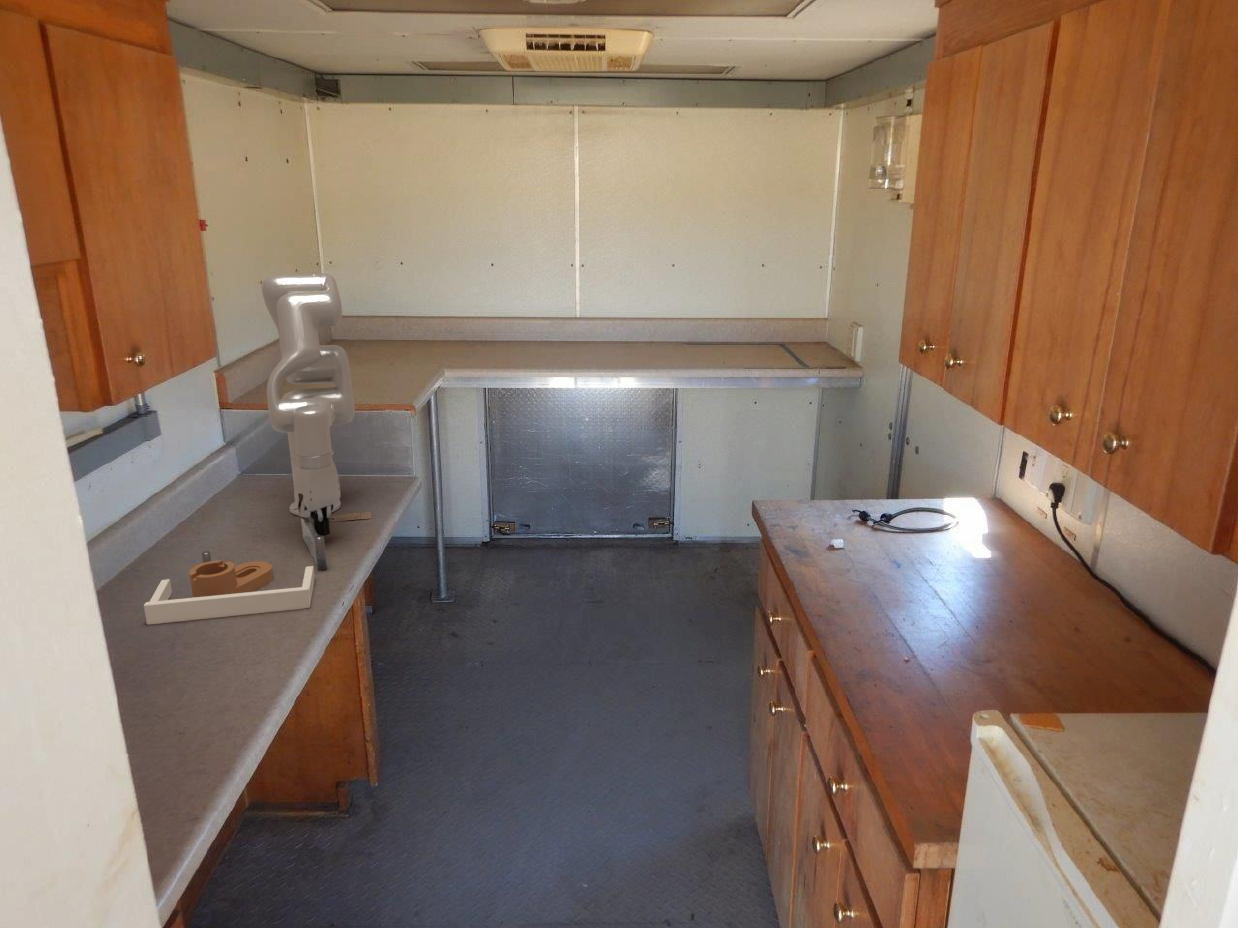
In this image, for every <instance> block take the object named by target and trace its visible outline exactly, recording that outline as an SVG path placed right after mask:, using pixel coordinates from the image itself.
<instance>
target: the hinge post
mask: <svg viewBox="0 0 1238 928" xmlns="http://www.w3.org/2000/svg"><path fill="white" fill-rule="evenodd" d="M314 541H315V550H316V560H317V564H316V568H317V571H320V572H324V571H326V570H327V569H328V564H327V554H326V543H325V536H322V535H318V536H315V537H314Z"/></svg>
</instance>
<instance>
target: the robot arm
mask: <svg viewBox="0 0 1238 928" xmlns="http://www.w3.org/2000/svg"><path fill="white" fill-rule="evenodd" d="M261 291H262V297H263V301H264V303H265V307H266V308H267V312H268V313H269V316H270V317H271V319H272V321H273V323H274V325H275V328H276V329H277V332H278V341H279V350H280V356H281V359H280V361H279V362H278V363H277V365H275V366H274V368H273V370H272V371H271V373H270V376H269V377H268V381H267V385H266V399H267V409H268V418H269V422H270V425H271V427H272V428H273V430H274V431H276V432H277V433H286V434H287V439H288V440H287V441H288V446H289V454H290V465H291V472H292V482H293V494H294V502H292V503H291V504H289V505H290V506H289V512H290V513H291V514H293V515H296V516H299V509H301V510H300V516H301V517H304V518H306V517H308V518H310V520H313V527H314V529H315V531H316V533H317V534H318V536H319V535H322V536H324V537H326V536H329V535H330V534H331V531H330V530H331V529H330V518H331V517H332V513H334V512H336V511H338V510H339V509H340V508H341V506H342V505H341V504H342V502H341V500H340V499H341V485H340V479H339V474H338V470H337V467H336V463H335V462H334V460H333V455H334V454H335V450H334V449H332V441H331V429H330V427H332V426H335V425H344V424H348V423H351V422H352V421H353V420H354V418H355V414H356V408H355V405H356V404H355V398H354V391H353V381H352V376H351V368H350V361H349V358H348V354H347V352H346V350H345V349H344V348H343V347H342V346H340V345H336V344H324V345H323V344H320V340H319V339H320V338H319V333H318V328H324V327H327V328H329V327H336V326H338V325H340V324H341V323H342V322H341V321H342V318H343V308H342V301H341V297H340V292H339V289H338V284H337V282H336V279H335V278H334V277H333V275H331V274H329V273H324V272H322V273H321V272H319V273H318V272H317V273H316V272H315V273H313V272H312V273H282V274H281V273H280V274H279V273H278V274H274V275H270V276H268V277H266V278H264V279H263V281H262V283H261ZM285 380H286V381H287V382H288V383H289V384H293V385H310V384H311V385H313V384H314V385H315V384H328V383H329V384H331V385H332V386H330V387H319V388H318V387H315V388H314V387H313V388H312V387H311V388H299V389H294V390H291V391H289V392H286V393H285V394H284V395H283V396H282V397H281V396H280V388H281V386H282V383H284V381H285ZM280 397H281V398H280ZM300 516H299V517H300Z"/></svg>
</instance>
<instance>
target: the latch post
mask: <svg viewBox="0 0 1238 928" xmlns="http://www.w3.org/2000/svg"><path fill="white" fill-rule="evenodd" d="M201 560H202V563H205V562H209V561H212V557H211V552H210V551H209V550H204V551H202V552H201Z"/></svg>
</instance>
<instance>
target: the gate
mask: <svg viewBox="0 0 1238 928" xmlns="http://www.w3.org/2000/svg"><path fill="white" fill-rule="evenodd" d="M300 510H301V509H299V518H300V522H301V523H300V524H301V530H302V539H303V541H304V543H305V545H306V546H307V548H308V551H309V553H310V554H311V556H312V558H313V560H314V562H315V565H317V560H316V550H315V541H314V537H315V536H319V535H318V534H317V533H316V531H315V528H314V525H313V524H312V523H311V521H310V520H311V519H309V517H306V518H304V517H301V516H300Z"/></svg>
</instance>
